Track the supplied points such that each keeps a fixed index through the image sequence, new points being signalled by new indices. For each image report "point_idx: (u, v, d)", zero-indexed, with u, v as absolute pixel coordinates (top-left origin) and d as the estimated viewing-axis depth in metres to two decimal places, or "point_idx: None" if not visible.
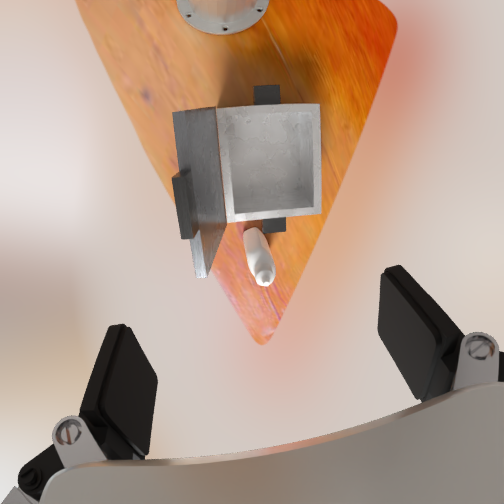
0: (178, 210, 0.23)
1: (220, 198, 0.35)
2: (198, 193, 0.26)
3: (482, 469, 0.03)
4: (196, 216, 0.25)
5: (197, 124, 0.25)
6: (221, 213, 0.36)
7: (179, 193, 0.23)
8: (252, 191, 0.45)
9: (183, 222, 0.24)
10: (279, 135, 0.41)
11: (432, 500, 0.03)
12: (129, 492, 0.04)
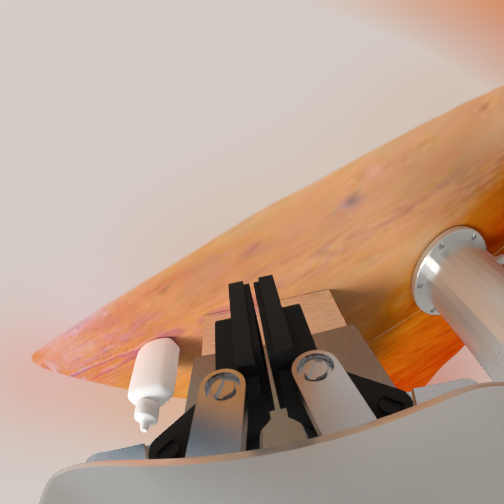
0: None
1: None
2: None
3: (482, 469, 0.03)
4: None
5: None
6: None
7: None
8: None
9: None
10: None
11: (432, 500, 0.03)
12: (129, 492, 0.04)
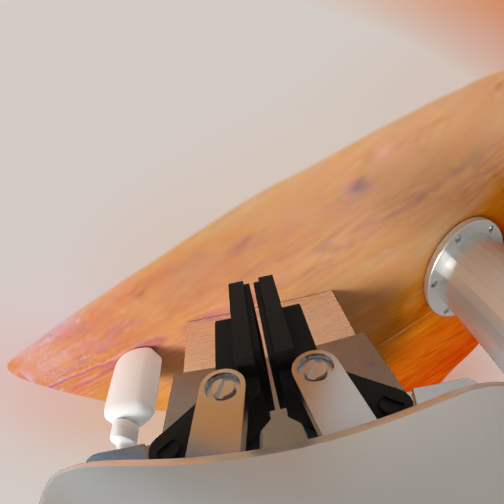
0: None
1: None
2: None
3: (482, 469, 0.03)
4: None
5: None
6: None
7: None
8: None
9: None
10: None
11: (432, 500, 0.03)
12: (129, 492, 0.04)
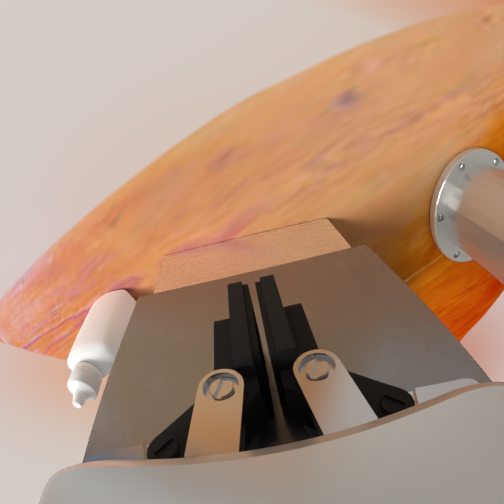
0: None
1: None
2: None
3: (482, 469, 0.03)
4: None
5: None
6: None
7: None
8: None
9: None
10: None
11: (432, 500, 0.03)
12: (129, 492, 0.04)
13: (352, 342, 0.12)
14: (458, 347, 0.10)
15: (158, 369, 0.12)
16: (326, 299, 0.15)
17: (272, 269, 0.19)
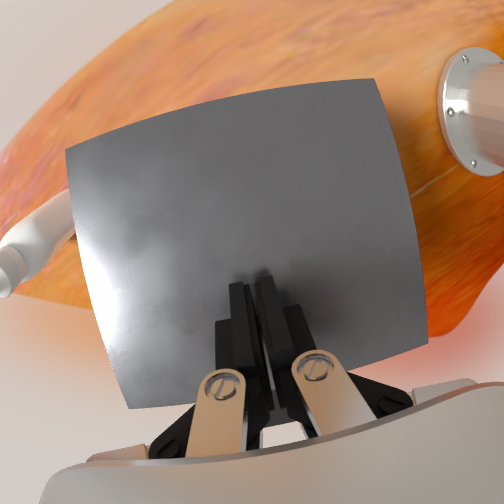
0: None
1: None
2: None
3: (482, 469, 0.03)
4: None
5: None
6: None
7: None
8: None
9: None
10: None
11: (432, 500, 0.03)
12: (129, 492, 0.04)
13: (337, 268, 0.12)
14: (421, 297, 0.13)
15: (140, 289, 0.13)
16: (317, 188, 0.12)
17: (245, 101, 0.12)
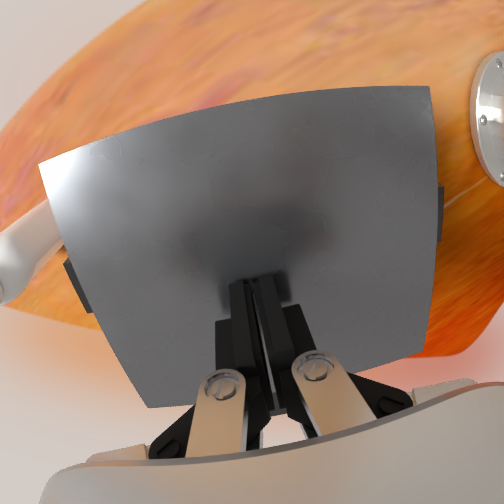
0: None
1: None
2: None
3: (482, 469, 0.03)
4: None
5: None
6: None
7: None
8: None
9: None
10: None
11: (432, 500, 0.03)
12: (129, 492, 0.04)
13: (354, 296, 0.12)
14: (425, 316, 0.13)
15: (152, 317, 0.12)
16: (347, 219, 0.11)
17: (272, 106, 0.09)
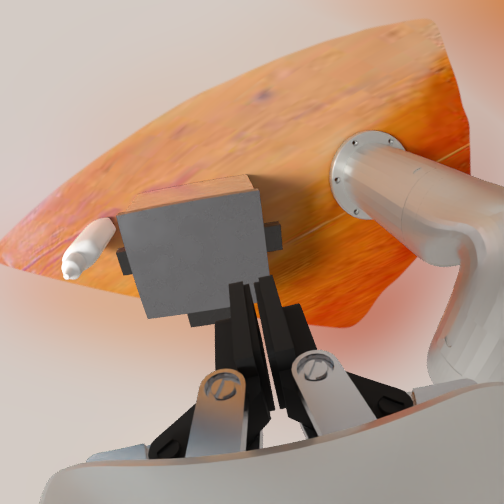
0: (211, 323, 0.36)
1: None
2: None
3: (482, 469, 0.03)
4: None
5: None
6: None
7: None
8: None
9: None
10: None
11: (432, 500, 0.03)
12: (129, 492, 0.04)
13: (231, 269, 0.33)
14: None
15: (155, 273, 0.33)
16: (225, 240, 0.32)
17: (197, 203, 0.30)
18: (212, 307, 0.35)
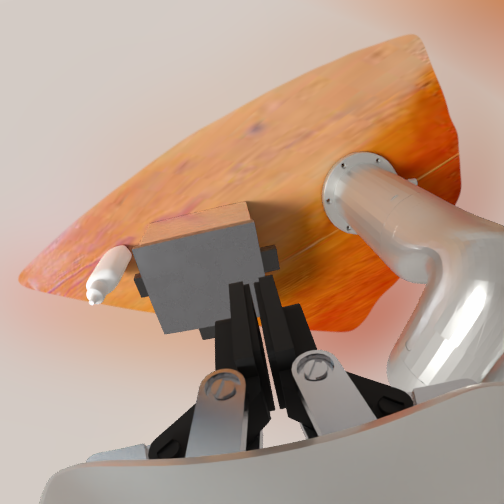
0: None
1: None
2: None
3: (482, 469, 0.03)
4: None
5: None
6: None
7: None
8: None
9: None
10: None
11: (432, 500, 0.03)
12: (129, 492, 0.04)
13: None
14: None
15: (169, 296, 0.38)
16: (227, 266, 0.37)
17: (201, 236, 0.35)
18: None
